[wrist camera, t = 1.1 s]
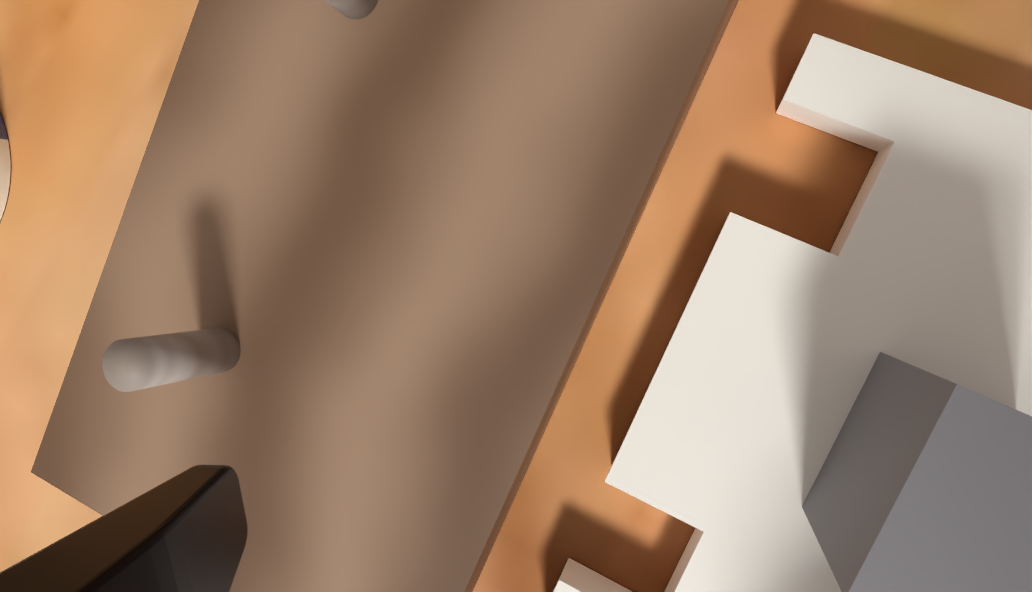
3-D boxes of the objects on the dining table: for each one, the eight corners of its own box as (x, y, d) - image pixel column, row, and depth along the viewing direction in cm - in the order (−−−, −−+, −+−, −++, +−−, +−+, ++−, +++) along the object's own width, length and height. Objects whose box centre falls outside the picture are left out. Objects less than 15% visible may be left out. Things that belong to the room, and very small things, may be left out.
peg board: (779, -92, 18) (815, -241, 13) (439, 664, 21) (353, 797, 16) (337, -234, 21) (215, -407, 16) (85, 455, 24) (-92, 509, 18)
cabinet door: (1193, 192, 17) (1503, 142, 10) (868, 787, 18) (960, 1053, 12) (803, 52, 18) (863, -64, 12) (545, 608, 20) (478, 760, 14)
